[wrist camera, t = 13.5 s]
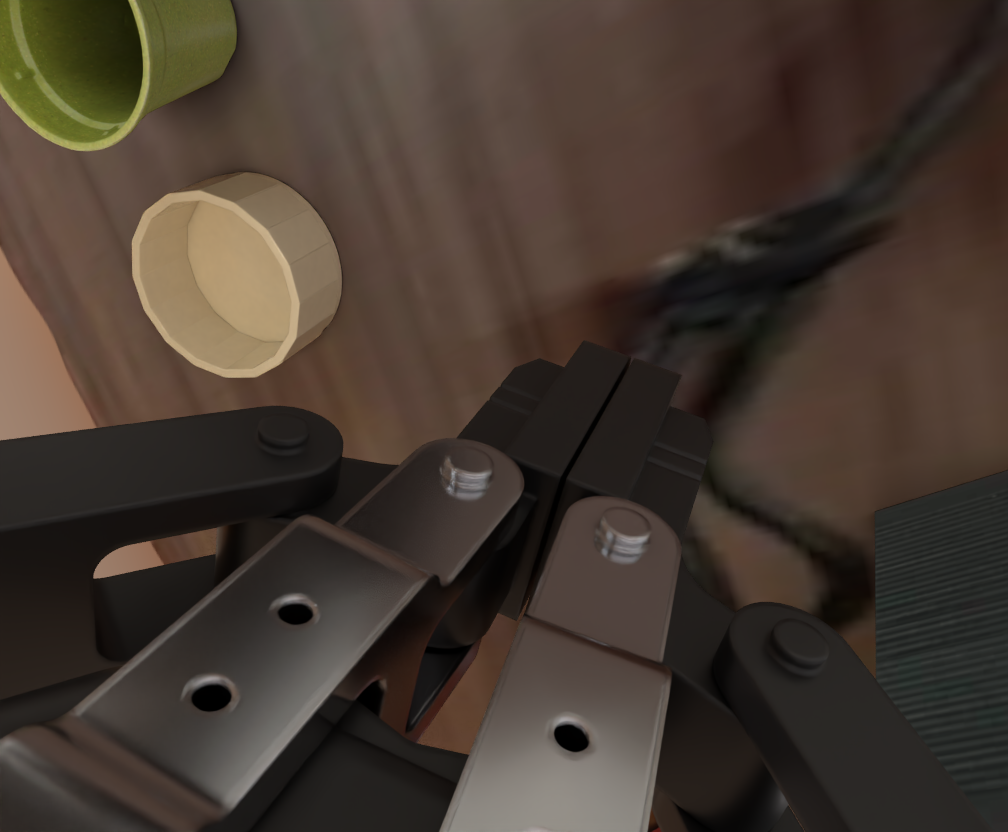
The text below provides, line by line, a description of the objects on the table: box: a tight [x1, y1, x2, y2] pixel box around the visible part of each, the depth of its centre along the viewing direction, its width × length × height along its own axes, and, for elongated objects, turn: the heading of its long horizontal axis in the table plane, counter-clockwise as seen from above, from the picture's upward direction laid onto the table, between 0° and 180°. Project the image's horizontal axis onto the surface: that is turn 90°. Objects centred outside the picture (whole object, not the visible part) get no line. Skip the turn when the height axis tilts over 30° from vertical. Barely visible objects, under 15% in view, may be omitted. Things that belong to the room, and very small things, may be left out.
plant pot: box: [0, 0, 237, 151], centre depth 41 cm, size 9×9×9 cm
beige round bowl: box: [132, 172, 342, 378], centre depth 48 cm, size 10×10×4 cm
